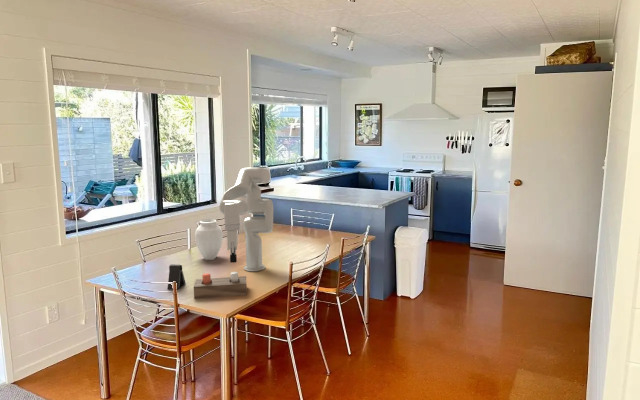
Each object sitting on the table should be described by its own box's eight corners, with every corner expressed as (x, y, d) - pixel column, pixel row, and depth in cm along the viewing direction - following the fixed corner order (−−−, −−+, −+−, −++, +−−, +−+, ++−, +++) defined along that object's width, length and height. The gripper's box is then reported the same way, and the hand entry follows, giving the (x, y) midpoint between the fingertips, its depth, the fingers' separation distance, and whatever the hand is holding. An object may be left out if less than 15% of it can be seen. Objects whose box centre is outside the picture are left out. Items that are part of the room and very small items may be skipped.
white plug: (230, 282, 242) (230, 272, 241) (238, 281, 242) (238, 271, 241) (230, 284, 238) (230, 274, 237) (238, 284, 238) (238, 274, 238)
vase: (217, 262, 292) (215, 223, 288) (190, 261, 296) (188, 223, 292) (228, 255, 309) (226, 218, 305) (203, 253, 313) (201, 217, 309)
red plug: (203, 284, 239) (202, 273, 239) (211, 283, 240) (210, 273, 239) (202, 286, 236) (202, 276, 235) (210, 286, 236) (210, 275, 235)
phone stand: (178, 289, 245) (176, 267, 243) (167, 289, 246) (166, 267, 244) (185, 284, 253) (184, 262, 251) (175, 283, 254) (174, 262, 252)
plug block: (196, 290, 243) (195, 279, 242) (246, 286, 248) (246, 276, 247) (194, 298, 232) (193, 286, 231) (246, 294, 236) (246, 283, 235)
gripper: (225, 224, 242) (226, 258, 244) (224, 230, 227) (225, 266, 230) (239, 223, 243) (240, 258, 246) (239, 229, 228) (240, 265, 231)
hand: (233, 262), depth 238 cm, fingers closed
